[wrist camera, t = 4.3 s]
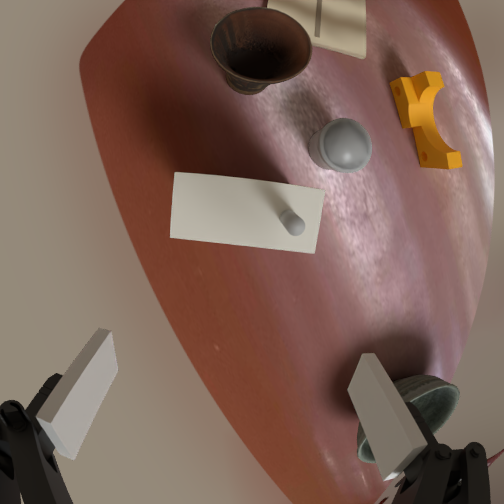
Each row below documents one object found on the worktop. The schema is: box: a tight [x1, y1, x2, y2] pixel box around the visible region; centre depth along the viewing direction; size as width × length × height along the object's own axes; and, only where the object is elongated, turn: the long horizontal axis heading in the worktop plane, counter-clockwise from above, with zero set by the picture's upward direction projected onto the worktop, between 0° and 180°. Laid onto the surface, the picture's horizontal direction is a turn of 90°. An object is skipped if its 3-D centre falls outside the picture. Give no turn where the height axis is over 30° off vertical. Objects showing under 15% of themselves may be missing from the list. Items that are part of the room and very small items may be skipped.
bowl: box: [357, 375, 460, 463], centre depth 38 cm, size 21×21×10 cm
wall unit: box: [170, 172, 325, 253], centre depth 24 cm, size 5×11×16 cm, turn 83°
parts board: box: [267, 0, 366, 59], centre depth 25 cm, size 11×13×1 cm
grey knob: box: [309, 118, 372, 173], centre depth 28 cm, size 6×6×6 cm
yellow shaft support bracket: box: [390, 71, 462, 169], centre depth 27 cm, size 12×4×6 cm, turn 15°
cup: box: [210, 7, 312, 95], centre depth 23 cm, size 9×9×10 cm
